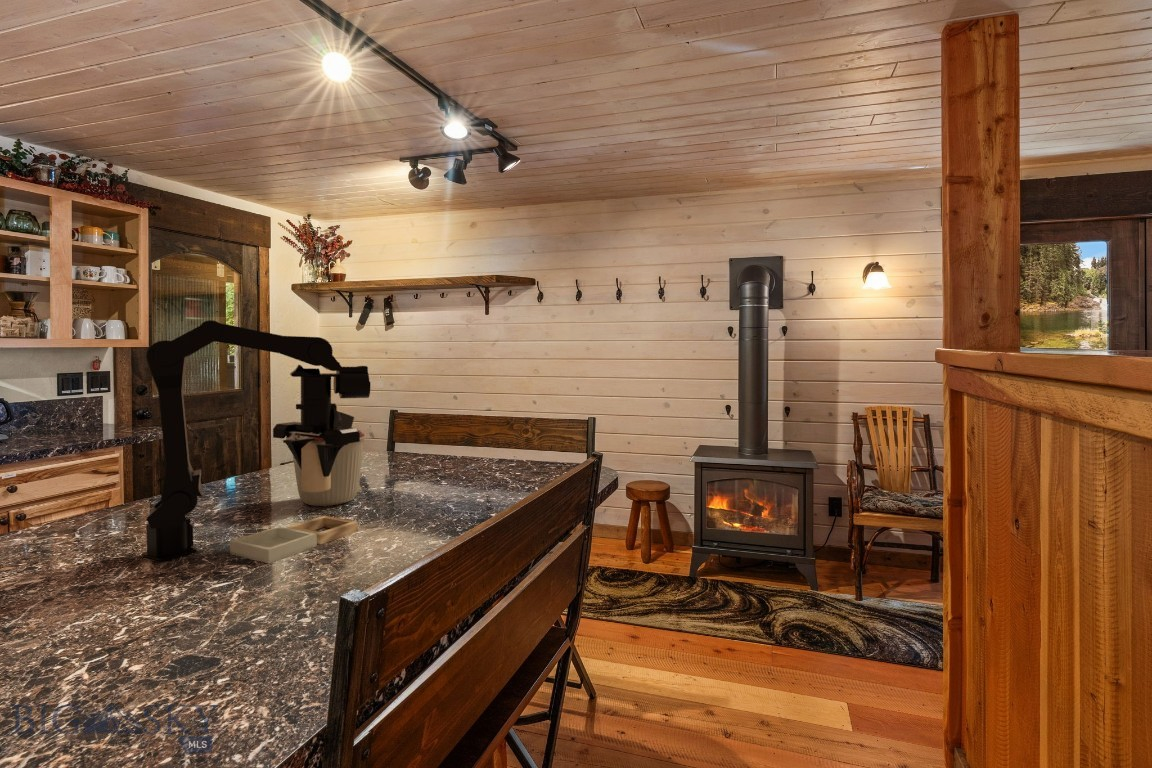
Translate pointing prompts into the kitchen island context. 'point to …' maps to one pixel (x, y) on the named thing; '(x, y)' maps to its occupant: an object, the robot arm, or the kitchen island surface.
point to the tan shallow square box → (338, 527)
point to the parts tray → (273, 544)
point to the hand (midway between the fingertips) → (316, 474)
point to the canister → (337, 476)
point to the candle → (313, 469)
